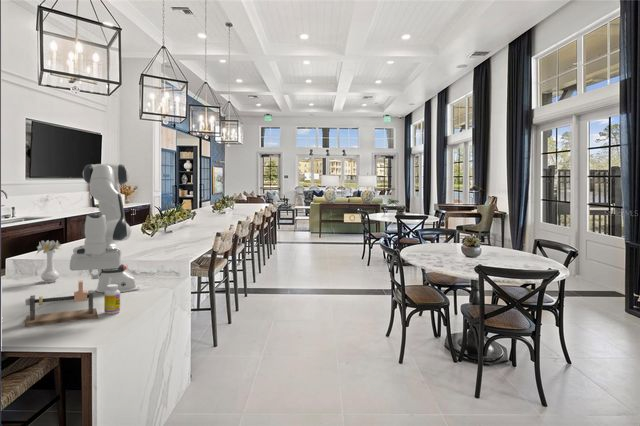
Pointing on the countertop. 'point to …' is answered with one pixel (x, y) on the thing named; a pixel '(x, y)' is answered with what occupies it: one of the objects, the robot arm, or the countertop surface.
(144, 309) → the countertop surface
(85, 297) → the peach stepped block
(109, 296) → the supplement bottle
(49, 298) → the dark gray rod
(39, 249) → the flower vase
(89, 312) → the towel rod holder
